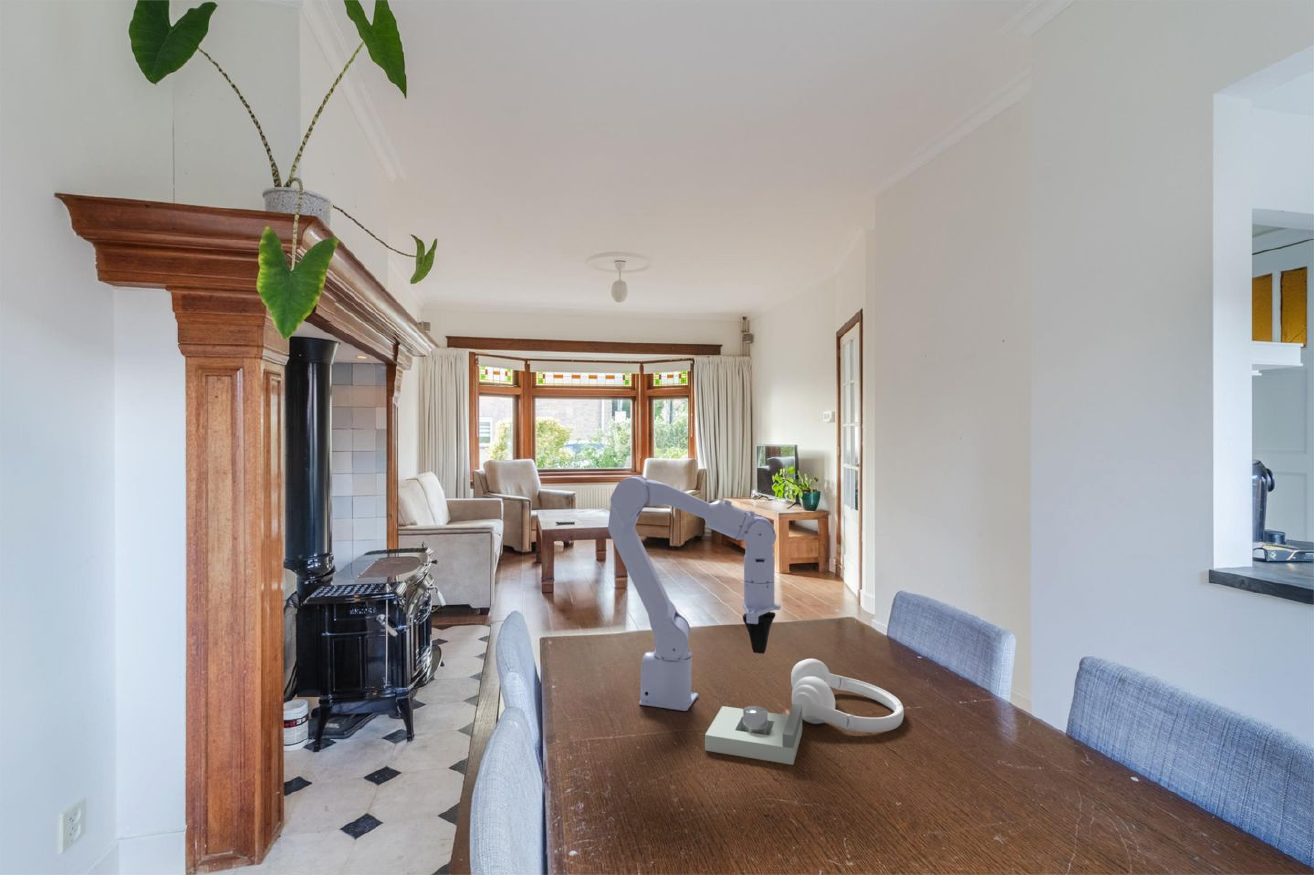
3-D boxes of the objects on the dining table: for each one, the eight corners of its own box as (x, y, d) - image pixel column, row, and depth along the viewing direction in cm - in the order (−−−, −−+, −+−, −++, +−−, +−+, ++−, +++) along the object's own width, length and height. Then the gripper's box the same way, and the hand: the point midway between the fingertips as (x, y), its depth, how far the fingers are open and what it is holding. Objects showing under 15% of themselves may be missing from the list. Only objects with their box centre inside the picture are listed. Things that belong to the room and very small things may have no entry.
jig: (705, 750, 102) (705, 722, 102) (722, 720, 113) (722, 694, 113) (793, 764, 97) (793, 735, 97) (802, 731, 109) (802, 705, 109)
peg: (740, 743, 104) (740, 713, 104) (747, 733, 108) (747, 704, 108) (763, 748, 103) (763, 717, 103) (770, 738, 106) (770, 708, 106)
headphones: (789, 729, 109) (911, 752, 105) (794, 683, 109) (917, 705, 105) (788, 687, 128) (892, 705, 124) (792, 648, 128) (896, 665, 124)
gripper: (774, 590, 112) (774, 667, 112) (785, 574, 126) (785, 643, 126) (735, 587, 115) (735, 662, 114) (750, 572, 128) (750, 639, 128)
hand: (759, 652), depth 120 cm, fingers closed
